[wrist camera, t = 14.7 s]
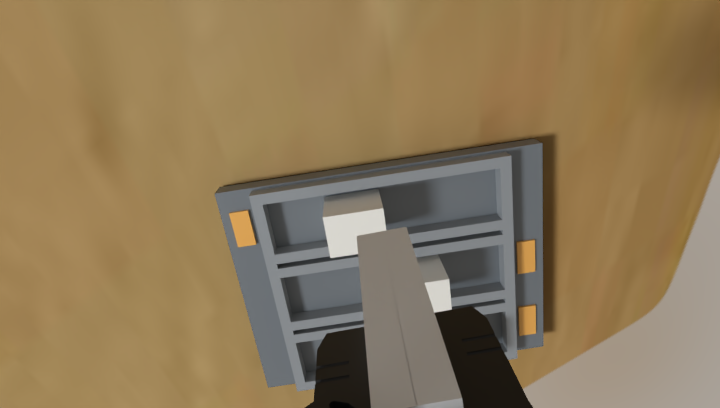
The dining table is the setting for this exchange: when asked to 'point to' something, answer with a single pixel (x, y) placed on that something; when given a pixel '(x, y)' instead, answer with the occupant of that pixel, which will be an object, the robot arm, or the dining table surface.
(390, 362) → the robot arm
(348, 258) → the switch board
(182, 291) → the dining table surface
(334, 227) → the tab
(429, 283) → the tab
